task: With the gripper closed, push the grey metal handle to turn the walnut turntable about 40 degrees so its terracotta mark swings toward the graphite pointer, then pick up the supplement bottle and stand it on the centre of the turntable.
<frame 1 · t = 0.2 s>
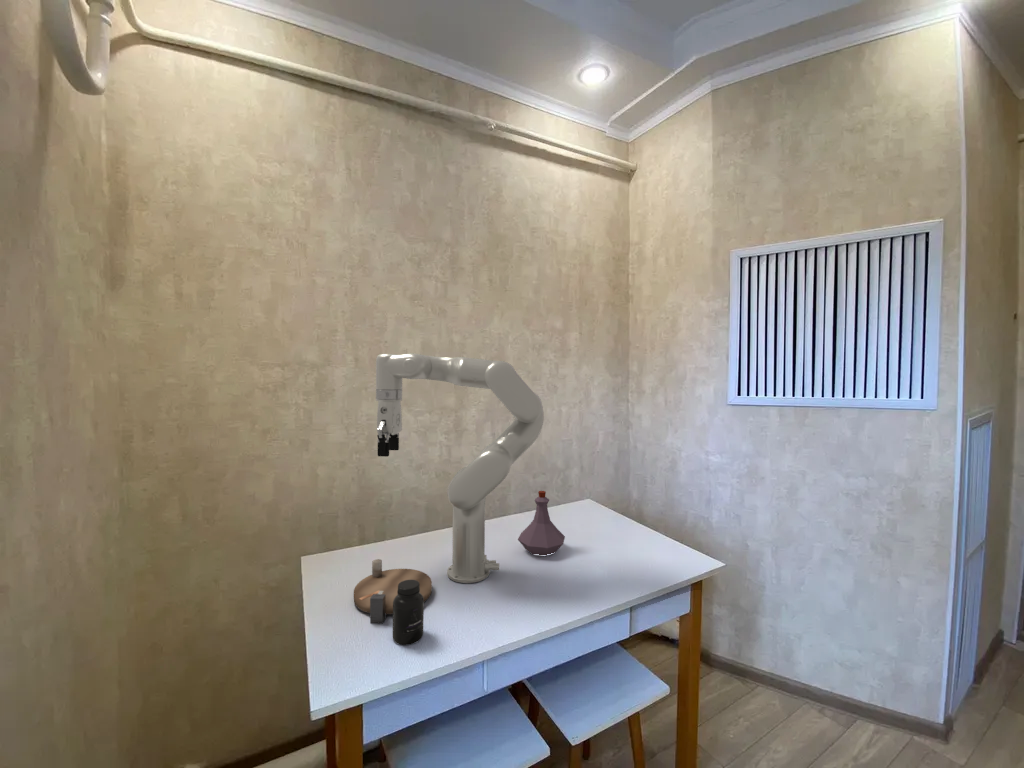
hand: (388, 453, 127), 36 cm above the table, tool pointing down, fingers open, 9 cm apart
flask: (541, 551, 144), on the table
index pointer: (377, 621, 103), on the table
supplement bottle: (408, 637, 97), on the table
turntable: (393, 582, 114), point 4 cm above the table, hinge at 0.0°
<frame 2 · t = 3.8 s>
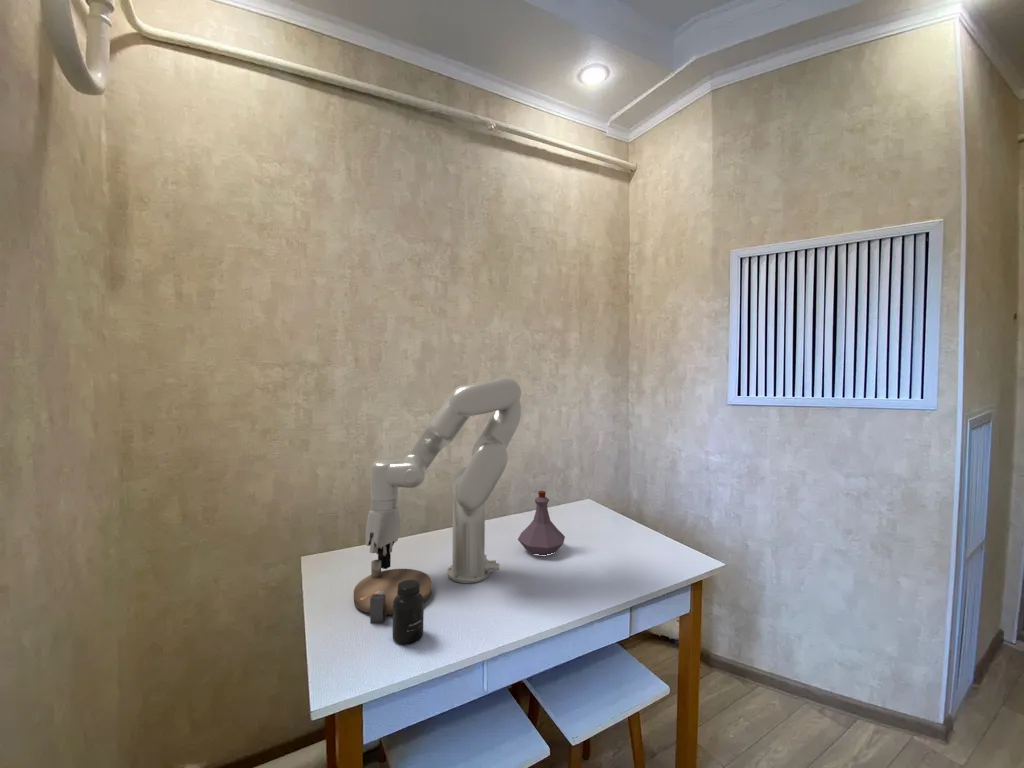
hand: (384, 567, 123), 4 cm above the table, tool pointing down, fingers closed
turntable: (393, 582, 114), point 4 cm above the table, hinge at 1.7°, touching gripper
everything else where it was.
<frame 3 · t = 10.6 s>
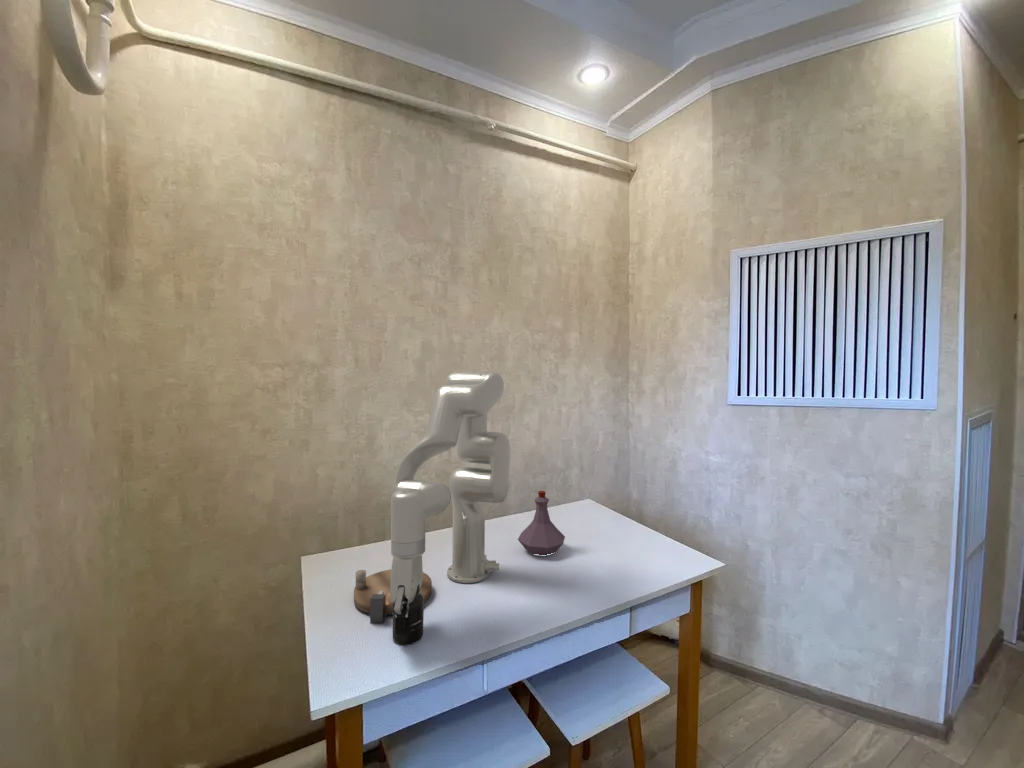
hand: (408, 622, 97), 3 cm above the table, tool pointing down, fingers closed on supplement bottle, 6 cm apart
supplement bottle: (408, 637, 97), on the table, touching gripper
turntable: (393, 582, 114), point 4 cm above the table, hinge at 48.3°
everything else where it was.
when the fingers open (7 cm above the table, at t = 16.8 s): supplement bottle drops 1 cm, resting on turntable.
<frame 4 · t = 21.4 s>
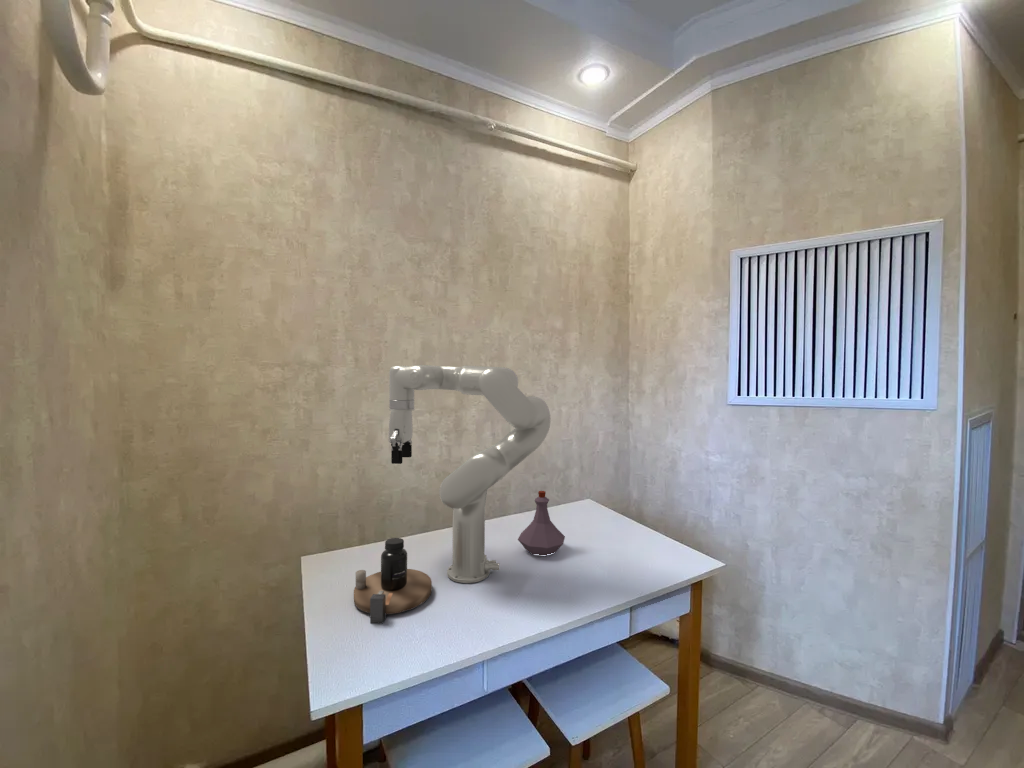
hand: (401, 460, 133), 32 cm above the table, tool pointing down, fingers open, 9 cm apart
supplement bottle: (394, 586, 114), point 3 cm above the table, touching turntable
turntable: (393, 582, 114), point 4 cm above the table, hinge at 48.3°, touching supplement bottle
everything else where it was.
at the end: turntable at +48° (first picture: +0°); supplement bottle 0.2 cm from the turntable (horizontally); supplement bottle tilted 0° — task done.
